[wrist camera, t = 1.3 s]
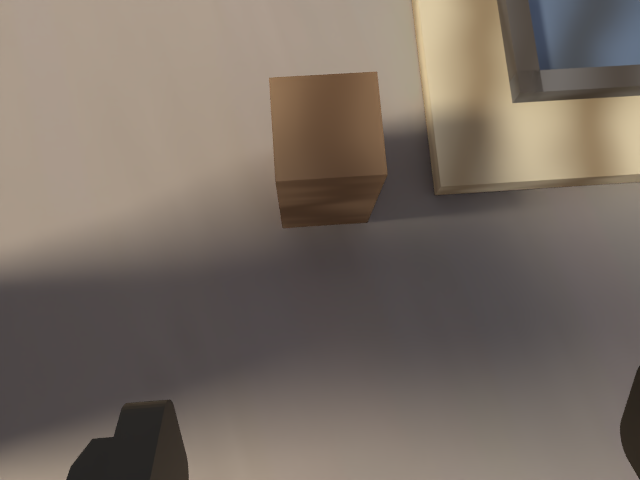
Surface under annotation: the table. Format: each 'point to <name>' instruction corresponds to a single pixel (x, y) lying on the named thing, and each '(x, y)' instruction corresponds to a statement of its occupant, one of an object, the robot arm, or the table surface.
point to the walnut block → (327, 147)
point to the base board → (530, 92)
